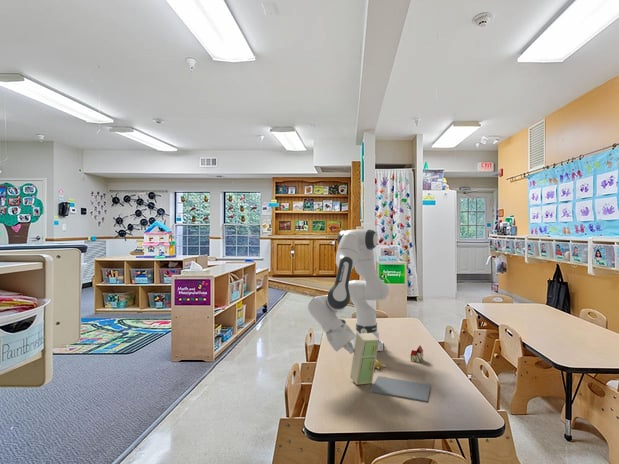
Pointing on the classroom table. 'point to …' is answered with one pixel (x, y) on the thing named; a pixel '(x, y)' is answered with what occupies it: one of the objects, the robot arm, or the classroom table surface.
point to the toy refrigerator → (364, 358)
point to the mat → (401, 388)
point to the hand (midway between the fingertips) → (353, 352)
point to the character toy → (379, 364)
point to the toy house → (417, 355)
